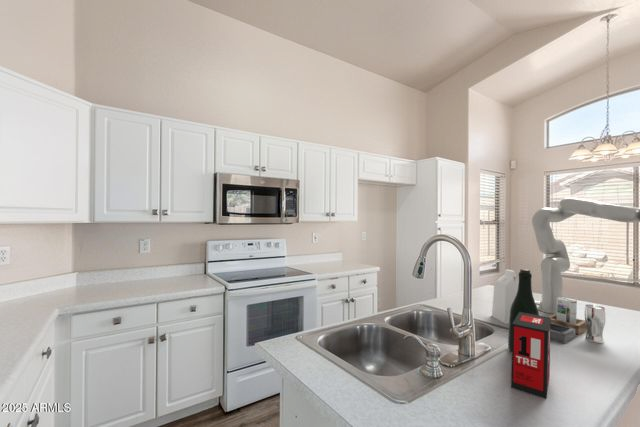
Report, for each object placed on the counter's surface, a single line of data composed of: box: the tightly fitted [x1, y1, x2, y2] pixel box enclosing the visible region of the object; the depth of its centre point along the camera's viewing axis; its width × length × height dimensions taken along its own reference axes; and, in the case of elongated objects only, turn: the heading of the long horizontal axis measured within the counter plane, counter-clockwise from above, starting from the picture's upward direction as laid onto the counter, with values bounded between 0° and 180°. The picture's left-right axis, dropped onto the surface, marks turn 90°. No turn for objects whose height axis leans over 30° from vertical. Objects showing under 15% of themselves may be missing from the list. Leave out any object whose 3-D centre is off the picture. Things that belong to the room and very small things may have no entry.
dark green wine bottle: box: [507, 268, 540, 353], centre depth 121 cm, size 10×10×33 cm
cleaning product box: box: [510, 312, 551, 400], centre depth 99 cm, size 16×9×20 cm, turn 141°
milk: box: [491, 269, 519, 325], centre depth 161 cm, size 12×12×26 cm
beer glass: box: [584, 303, 607, 344], centre depth 136 cm, size 7×7×15 cm
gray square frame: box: [550, 323, 576, 345], centre depth 140 cm, size 13×13×4 cm
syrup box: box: [557, 296, 578, 324], centre depth 150 cm, size 6×6×14 cm
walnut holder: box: [547, 314, 587, 337], centre depth 150 cm, size 13×13×4 cm
